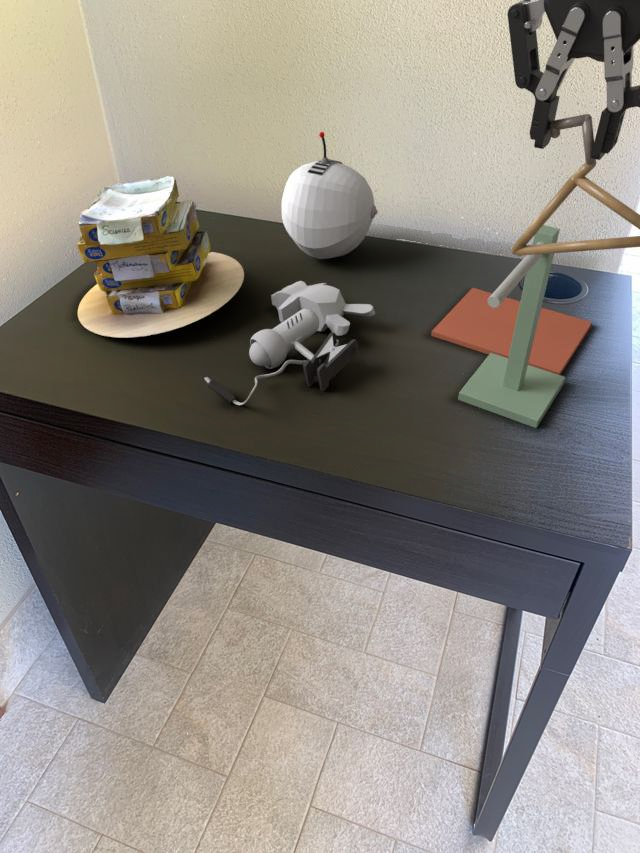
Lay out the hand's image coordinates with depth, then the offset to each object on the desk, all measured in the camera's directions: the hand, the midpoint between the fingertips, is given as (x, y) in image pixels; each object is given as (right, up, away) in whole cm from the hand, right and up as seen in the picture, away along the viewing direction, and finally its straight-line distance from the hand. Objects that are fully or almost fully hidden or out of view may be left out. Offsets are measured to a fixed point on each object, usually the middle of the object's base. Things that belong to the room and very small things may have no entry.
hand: (569, 150), depth 57 cm
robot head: (-19, +6, +57) cm, 60 cm away
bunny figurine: (-21, -8, +41) cm, 47 cm away
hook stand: (+1, -21, +26) cm, 33 cm away
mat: (+6, -10, +39) cm, 40 cm away
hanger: (+3, -7, +4) cm, 9 cm away
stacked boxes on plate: (-44, -4, +46) cm, 64 cm away
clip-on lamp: (-26, -17, +31) cm, 44 cm away
